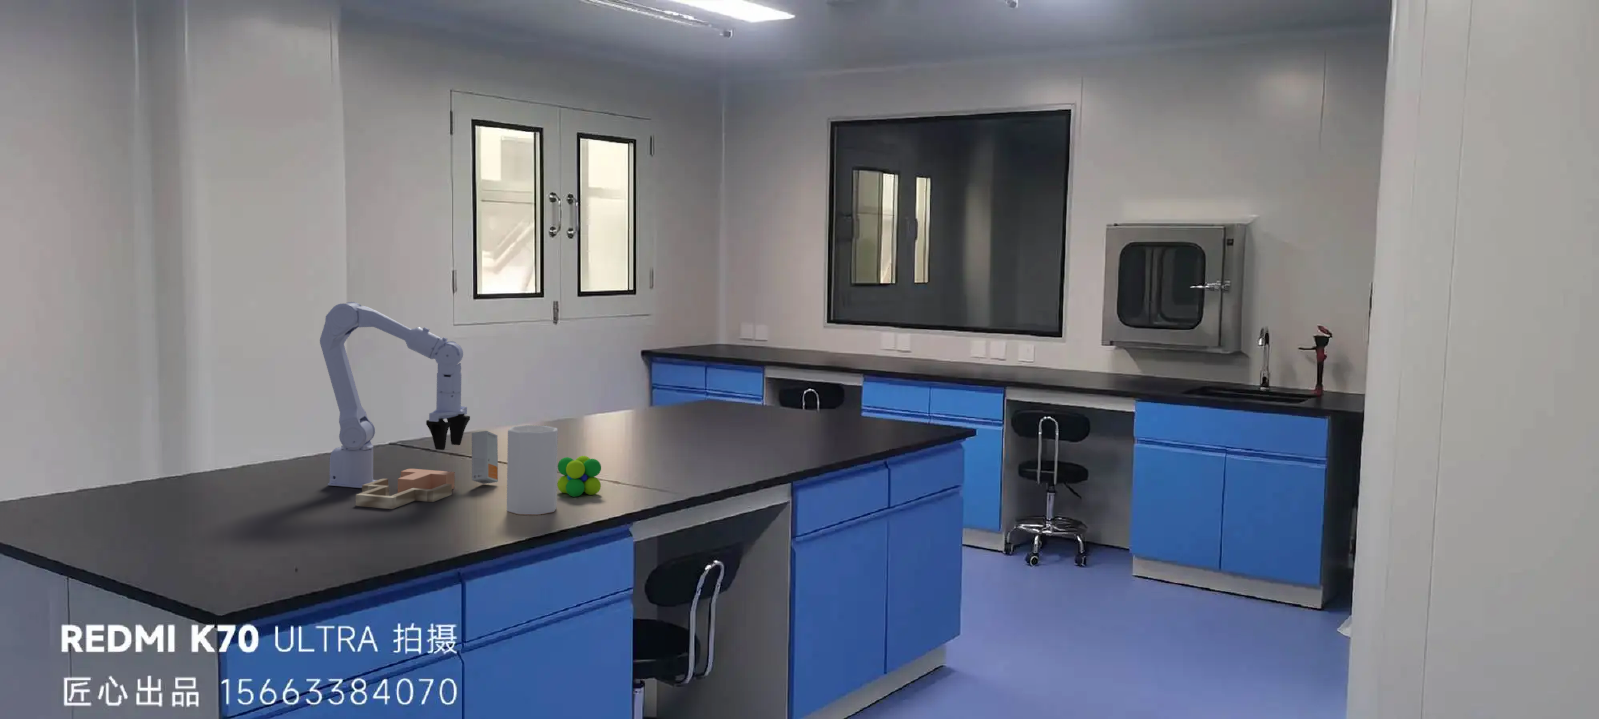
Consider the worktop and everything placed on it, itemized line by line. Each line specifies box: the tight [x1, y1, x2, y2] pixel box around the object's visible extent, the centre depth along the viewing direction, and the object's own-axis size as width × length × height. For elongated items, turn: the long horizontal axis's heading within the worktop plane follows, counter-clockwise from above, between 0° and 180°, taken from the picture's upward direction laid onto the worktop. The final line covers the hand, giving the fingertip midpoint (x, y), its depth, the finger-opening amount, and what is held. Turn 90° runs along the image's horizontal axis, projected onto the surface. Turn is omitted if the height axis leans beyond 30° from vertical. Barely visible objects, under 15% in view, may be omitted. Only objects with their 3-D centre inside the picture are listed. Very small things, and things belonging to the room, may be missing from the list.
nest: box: [355, 478, 453, 510], centre depth 263 cm, size 18×18×2 cm
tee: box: [397, 468, 456, 493], centre depth 272 cm, size 12×12×4 cm
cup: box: [506, 424, 559, 516], centre depth 256 cm, size 11×11×18 cm
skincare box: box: [471, 430, 499, 485], centre depth 282 cm, size 6×4×12 cm
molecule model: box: [557, 455, 602, 498], centre depth 276 cm, size 9×9×9 cm
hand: (448, 447), depth 279 cm, fingers open, 7 cm apart
